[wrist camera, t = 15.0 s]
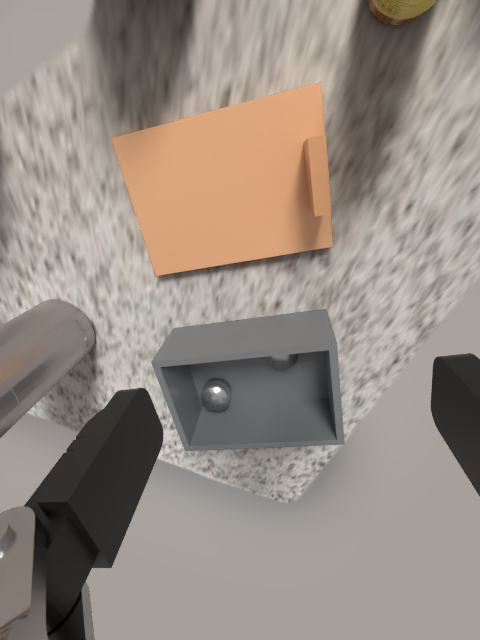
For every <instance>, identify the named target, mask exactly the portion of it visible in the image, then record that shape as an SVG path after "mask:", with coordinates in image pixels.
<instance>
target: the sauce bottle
mask: <svg viewBox="0 0 480 640" xmlns="http://www.w3.org/2000/svg"><path fill="white" fill-rule="evenodd" d="M437 1H438V0H367V4H368V6H369V8H370V10H371V11H372V12H373V14H374V15H375V17H376V18H377V19H378V20H379V21H381V22H382V23H384V24H388V25H402V24H407V23H409V22H411V21H413V20H415V19H417V18H418V17H419V16H420V15H421V14H422V13H423V12H425V11H426V10H428V9H429V8H430V7H431V6H433V5H434V4H435V3H436V2H437Z"/></svg>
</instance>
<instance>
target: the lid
mask: <svg viewBox="0 0 480 640" xmlns="http://www.w3.org/2000/svg"><path fill="white" fill-rule="evenodd" d="M111 140H112V143H113V146H114V149H115V152H116V155H117V158H118V161H119V164H120V167H121V170H122V173H123V176H124V180H125V183H126V186H127V189H128V192H129V195H130V198H131V201H132V204H133V207H134V210H135V213H136V216H137V219H138V222H139V225H140V228H141V231H142V234H143V237H144V241H145V244H146V247H147V250H148V253H149V256H150V259H151V262H152V265H153V268H154V271H155V274H156V276H158V275H165V274H171V273H177V272H183V271H189V270H195V269H201V268H207V267H213V266H219V265H225V264H231V263H237V262H243V261H250V260H256V259H262V258H268V257H274V256H280V255H286V254H292V253H298V252H304V251H310V250H316V249H322V248H328V247H333V240H332V226H331V214H332V213H331V199H330V185H329V171H328V157H327V143H326V134H325V128H324V115H323V101H322V87H321V82H318V83H315V84H311V85H307V86H304V87H300V88H296V89H292V90H289V91H285V92H281V93H277V94H274V95H270V96H266V97H263V98H259V99H255V100H251V101H248V102H244V103H240V104H237V105H233V106H229V107H225V108H222V109H218V110H214V111H210V112H207V113H203V114H199V115H196V116H192V117H188V118H184V119H181V120H177V121H173V122H170V123H166V124H162V125H158V126H155V127H151V128H147V129H143V130H140V131H136V132H132V133H129V134H125V135H121V136H117V137H114V138H111Z"/></svg>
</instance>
